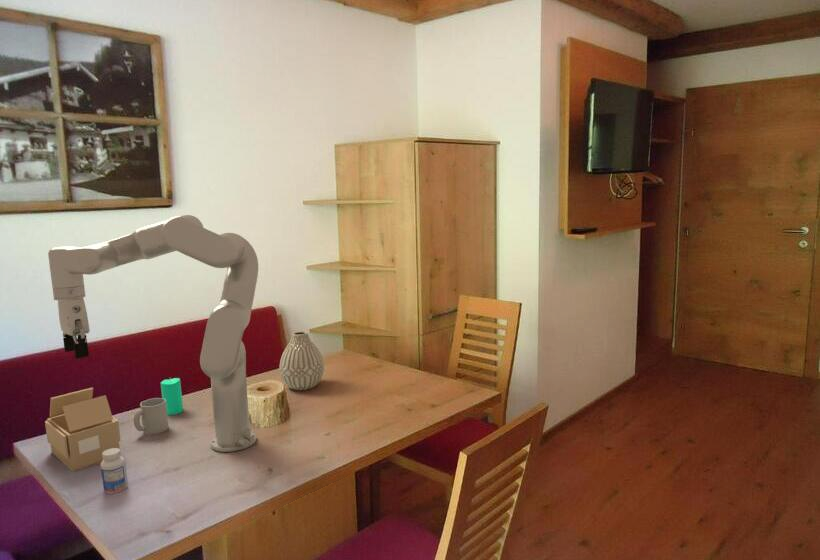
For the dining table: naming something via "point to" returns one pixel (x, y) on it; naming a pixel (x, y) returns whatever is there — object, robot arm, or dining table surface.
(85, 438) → the carton
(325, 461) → the dining table surface
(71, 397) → the long flap far
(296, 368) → the vase
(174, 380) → the candle
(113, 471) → the pill bottle
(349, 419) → the dining table surface
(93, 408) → the long flap near
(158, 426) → the cup
